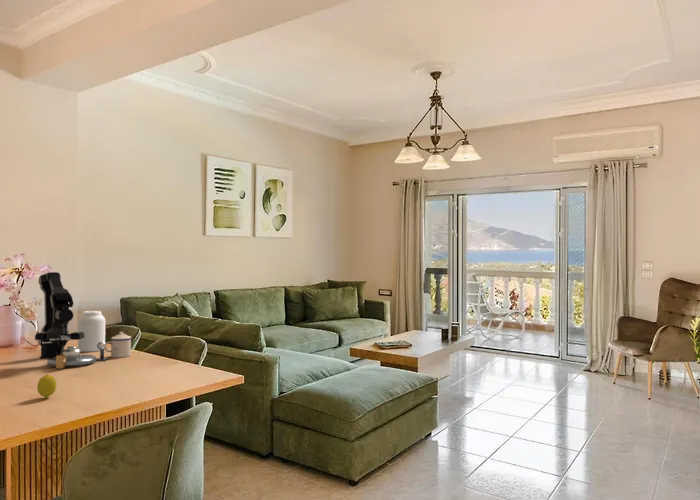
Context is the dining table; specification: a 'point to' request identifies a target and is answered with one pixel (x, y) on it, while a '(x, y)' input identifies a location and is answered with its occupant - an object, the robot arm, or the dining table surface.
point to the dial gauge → (101, 351)
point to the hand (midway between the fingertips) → (59, 355)
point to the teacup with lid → (120, 346)
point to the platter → (70, 361)
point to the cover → (71, 353)
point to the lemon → (46, 386)
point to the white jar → (91, 330)
